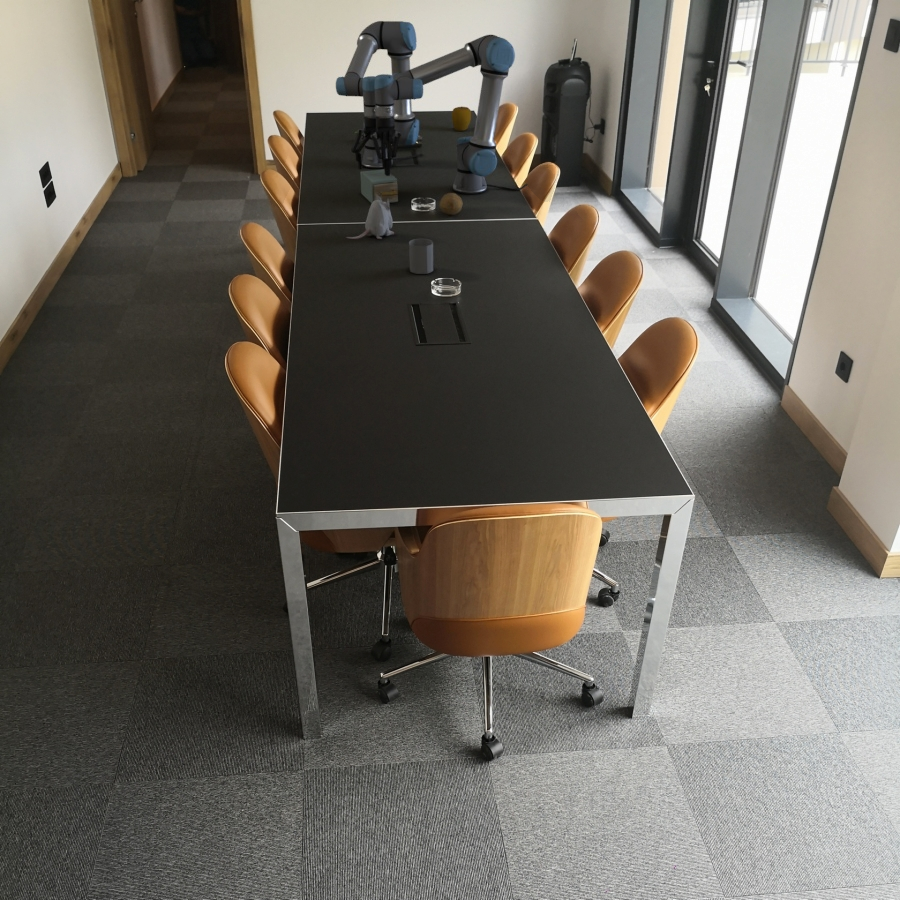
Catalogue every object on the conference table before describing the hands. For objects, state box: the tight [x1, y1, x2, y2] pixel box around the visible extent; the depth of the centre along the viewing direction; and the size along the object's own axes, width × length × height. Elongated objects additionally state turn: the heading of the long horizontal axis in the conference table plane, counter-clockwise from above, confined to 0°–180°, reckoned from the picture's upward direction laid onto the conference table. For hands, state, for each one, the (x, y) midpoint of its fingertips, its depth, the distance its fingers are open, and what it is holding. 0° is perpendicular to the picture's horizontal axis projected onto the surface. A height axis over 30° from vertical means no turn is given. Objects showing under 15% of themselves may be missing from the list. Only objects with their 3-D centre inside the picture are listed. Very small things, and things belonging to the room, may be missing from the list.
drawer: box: [374, 181, 399, 203], centre depth 375 cm, size 21×10×8 cm, turn 21°
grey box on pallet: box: [359, 168, 399, 204], centre depth 379 cm, size 17×11×10 cm, turn 21°
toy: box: [345, 195, 395, 240], centre depth 331 cm, size 9×24×15 cm, turn 137°
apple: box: [451, 105, 472, 132], centre depth 487 cm, size 11×11×13 cm
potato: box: [439, 192, 464, 216], centre depth 360 cm, size 10×14×8 cm
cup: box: [408, 237, 434, 275], centre depth 305 cm, size 8×8×10 cm
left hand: (375, 167), depth 379 cm, fingers open, 13 cm apart
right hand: (387, 174), depth 365 cm, fingers closed
